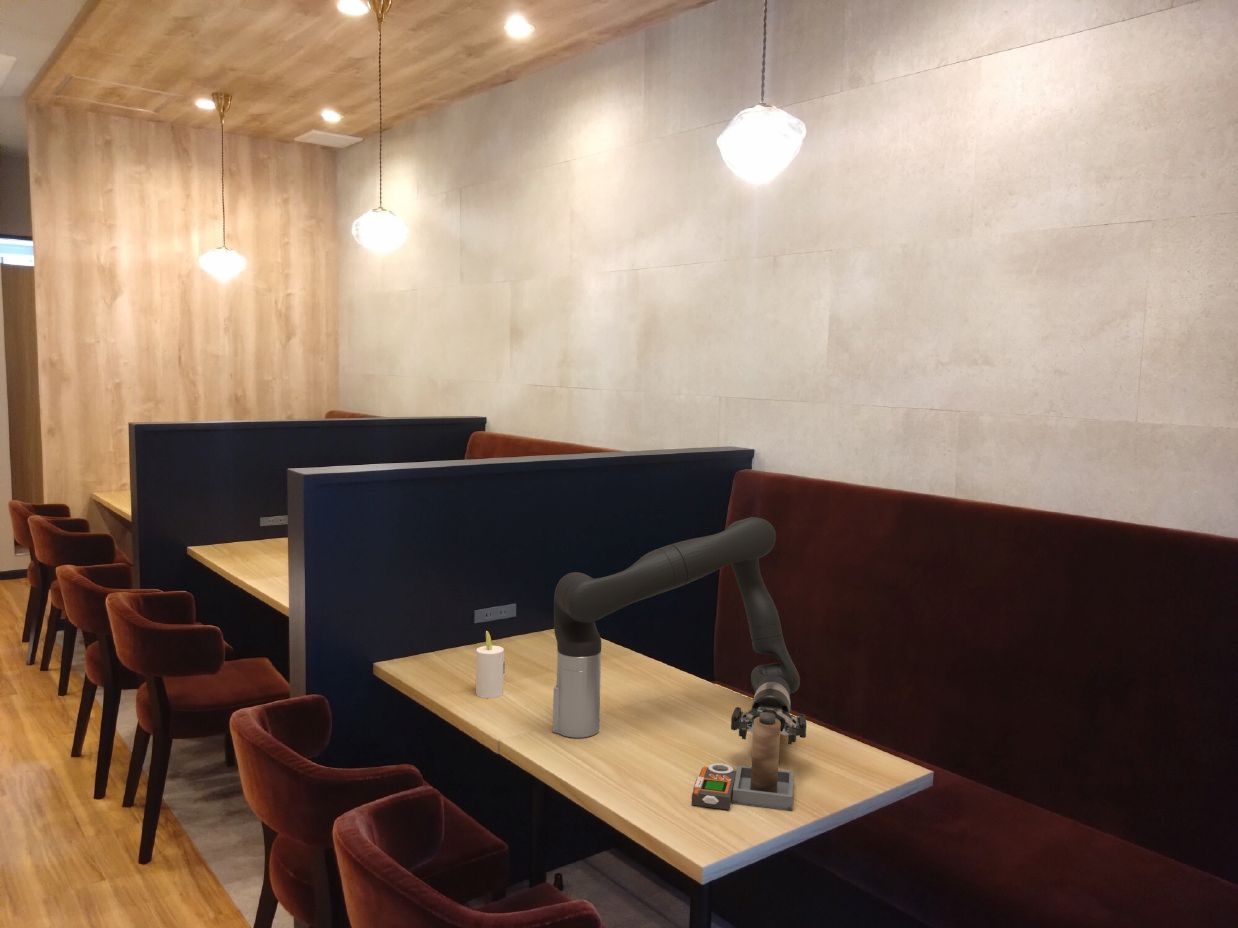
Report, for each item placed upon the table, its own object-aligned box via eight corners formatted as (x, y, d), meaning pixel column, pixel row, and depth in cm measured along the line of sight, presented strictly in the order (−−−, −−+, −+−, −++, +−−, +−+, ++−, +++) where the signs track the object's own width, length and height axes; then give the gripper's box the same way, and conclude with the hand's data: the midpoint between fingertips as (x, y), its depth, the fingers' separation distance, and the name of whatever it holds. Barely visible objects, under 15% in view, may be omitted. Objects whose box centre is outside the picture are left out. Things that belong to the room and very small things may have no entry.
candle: (504, 697, 209) (505, 634, 207) (476, 698, 208) (476, 635, 206) (503, 688, 215) (504, 626, 213) (475, 688, 214) (476, 627, 212)
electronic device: (738, 763, 172) (729, 796, 157) (737, 779, 172) (728, 812, 158) (703, 759, 174) (690, 791, 159) (702, 774, 174) (690, 807, 159)
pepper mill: (749, 794, 163) (753, 718, 161) (751, 782, 168) (754, 708, 166) (776, 797, 162) (780, 721, 160) (777, 785, 167) (781, 711, 165)
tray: (732, 803, 161) (733, 789, 160) (737, 777, 171) (737, 764, 171) (792, 810, 159) (792, 796, 158) (793, 784, 169) (793, 771, 168)
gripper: (737, 684, 186) (729, 713, 170) (807, 691, 183) (806, 721, 167) (735, 719, 186) (727, 751, 171) (806, 727, 183) (804, 760, 168)
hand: (766, 736), depth 169 cm, fingers open, 8 cm apart
